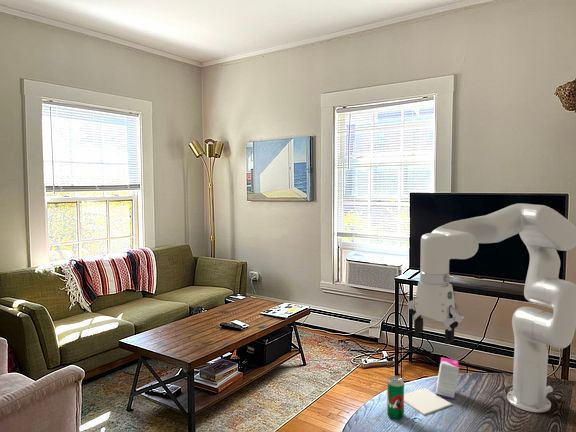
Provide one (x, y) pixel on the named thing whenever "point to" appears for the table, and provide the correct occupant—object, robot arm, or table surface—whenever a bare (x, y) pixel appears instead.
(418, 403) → the mat
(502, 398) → the table surface
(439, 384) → the supplement box
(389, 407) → the soda can
